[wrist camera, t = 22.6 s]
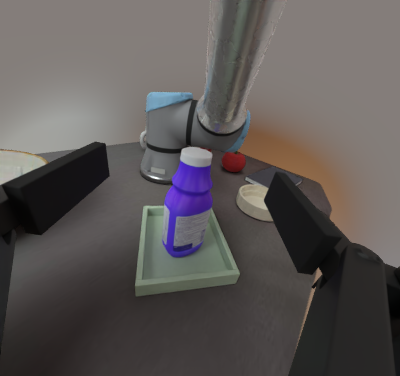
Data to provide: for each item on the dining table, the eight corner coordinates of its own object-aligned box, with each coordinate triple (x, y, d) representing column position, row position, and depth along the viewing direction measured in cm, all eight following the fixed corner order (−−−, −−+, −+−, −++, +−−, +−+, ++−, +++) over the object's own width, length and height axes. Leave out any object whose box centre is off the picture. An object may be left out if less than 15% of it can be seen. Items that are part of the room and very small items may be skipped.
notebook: (271, 169, 73) (244, 180, 59) (273, 166, 72) (245, 176, 59) (302, 182, 66) (278, 198, 52) (304, 178, 65) (280, 193, 51)
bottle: (191, 228, 34) (206, 143, 26) (208, 248, 31) (231, 157, 22) (157, 240, 30) (160, 145, 22) (171, 266, 27) (182, 162, 18)
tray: (143, 215, 36) (143, 205, 35) (208, 214, 40) (210, 205, 39) (135, 296, 23) (134, 286, 21) (235, 283, 26) (240, 273, 25)
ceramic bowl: (229, 194, 50) (232, 183, 48) (265, 194, 53) (269, 184, 51) (248, 223, 39) (252, 211, 38) (291, 221, 43) (297, 210, 41)
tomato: (246, 172, 66) (252, 152, 62) (235, 177, 60) (241, 156, 56) (227, 163, 71) (232, 145, 67) (215, 168, 64) (219, 148, 60)
